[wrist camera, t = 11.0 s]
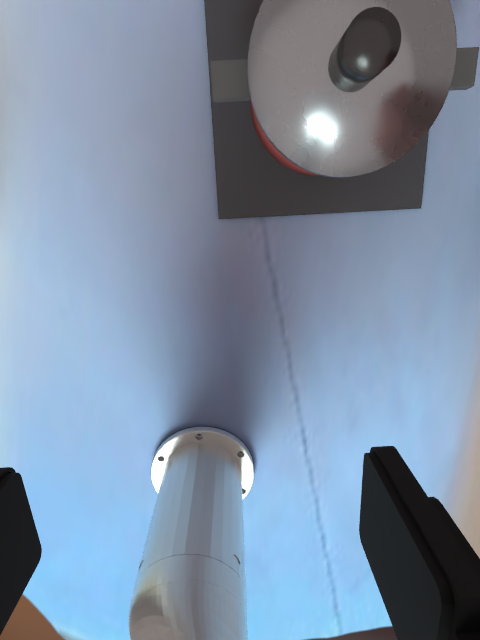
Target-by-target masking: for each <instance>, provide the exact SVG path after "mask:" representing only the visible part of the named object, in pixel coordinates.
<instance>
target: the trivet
mask: <svg viewBox="0 0 480 640" xmlns="http://www.w3.org/2000/svg"><path fill="white" fill-rule="evenodd" d="M204 1H205V17H206V32H207V47H208V62H209V77H210V92H211V107H212V123H213V138H214V153H215V168H216V183H217V198H218V214H219V219H231V218H250V217H269V216H287V215H306V214H325V213H343V212H362V211H381V210H399V209H418V208H421V204H422V194H423V183H424V173H425V163H426V152H427V142H428V132H429V130H428V131H427V133H426V134H425V135H424V136H423V137H422V138H421V139H420V141H419V142H418V143H417V144H416V145H415V146H414V147H413V148H411V149H410V150H409V151H408V152H407V153H406V154H404V155H403V156H402V157H400V158H399V159H397V160H396V161H395V162H393V163H391V164H389V165H387V166H385V167H383V168H381V169H378V170H376V171H373V172H370V173H366V174H362V175H358V176H352V177H327V176H311V175H305V174H301V173H298V172H295V171H292V170H290V169H288V168H286V167H285V166H283V165H282V164H280V163H279V162H278V161H277V160H275V159H274V158H273V157H272V156H271V155H270V153H269V152H268V151H267V150H266V149H265V147H264V146H263V144H262V143H261V141H260V139H259V137H258V135H257V133H256V130H255V127H254V124H253V120H252V115H251V107H250V101H236V102H217V103H214V102H213V93H212V78H211V62H210V61H221V60H241V59H248V52H249V45H250V39H251V34H252V30H253V26H254V23H255V19H256V17H257V14H258V12H259V9H260V6H261V4H262V2H263V0H204Z"/></svg>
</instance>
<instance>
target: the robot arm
mask: <svg viewBox="0 0 480 640" xmlns="http://www.w3.org/2000/svg"><path fill="white" fill-rule="evenodd" d="M151 477H152V483H153V485H154V488H155V490H156V491H157V493H158V495H157V499H156V503H155V507H154V511H153V515H152V519H151V523H150V527H149V531H148V535H147V539H146V543H145V547H144V551H143V555H142V559H141V562H140V566H139V570H138V574H137V578H136V583H135V586H134V590H133V594H132V598H131V602H130V609H129V633H130V639H131V640H248V633H247V613H246V583H245V555H244V527H243V499H244V498H245V497H246V496H247V494H248V493H249V491H250V489H251V487H252V484H253V481H254V464H253V460H252V457H251V454H250V452H249V451H248V449H247V447H246V446H245V445H244V444H243V443H242V441H240V440H239V439H238V438H237V437H235V436H234V435H232V434H230V433H228V432H226V431H224V430H221V429H217V428H212V427H193V428H187V429H184V430H182V431H179V432H177V433H175V434H173V435H171V436H170V437H169V438H167V439H166V440H165V441H164V442H163V443H162V444H161V445H160V447H159V448H158V449H157V452H156V454H155V456H154V459H153V463H152V467H151ZM359 532H360V539H361V543H362V546H363V549H364V551H365V554H366V557H367V559H368V562H369V565H370V567H371V570H372V572H373V575H374V578H375V580H376V583H377V586H378V588H379V591H380V594H381V596H382V599H383V602H384V604H385V607H386V610H387V612H388V615H389V618H390V620H391V623H392V625H393V628H394V631H395V633H396V636H397V639H398V640H480V559H479V557H478V556H477V554H476V553H475V551H474V550H473V548H472V547H471V546H470V544H469V543H468V541H467V540H466V538H465V537H464V535H463V534H462V533H461V531H460V530H459V528H458V527H457V525H456V524H455V522H454V521H453V520H452V518H451V517H450V515H449V514H448V512H447V511H446V509H445V508H444V506H443V505H442V504H441V503H440V501H439V500H438V499H436V498H435V497H428V496H427V495H426V493H425V492H424V490H423V489H422V487H421V486H420V484H419V483H418V481H417V480H416V478H415V477H414V475H413V474H412V472H411V471H410V469H409V468H408V466H407V465H406V463H405V462H404V460H403V459H402V457H401V456H400V454H399V453H398V451H397V449H396V448H395V447H393V446H383V447H372V448H371V450H370V453H365V454H364V462H363V478H362V494H361V510H360V526H359ZM41 550H42V549H41V544H40V541H39V537H38V534H37V530H36V527H35V523H34V520H33V516H32V512H31V509H30V505H29V502H28V498H27V495H26V491H25V488H24V484H23V481H22V477H21V475H20V474H19V473H16V472H15V470H14V469H13V468H10V467H8V468H0V635H1V633H2V631H3V629H4V627H5V625H6V623H7V621H8V620H9V618H10V616H11V614H12V612H13V610H14V608H15V607H16V605H17V603H18V601H19V599H20V597H21V595H22V593H23V592H24V590H25V588H26V586H27V584H28V582H29V580H30V578H31V577H32V575H33V573H34V571H35V569H36V567H37V565H38V563H39V561H40V558H41Z"/></svg>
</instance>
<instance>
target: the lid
mask: <svg viewBox="0 0 480 640" xmlns="http://www.w3.org/2000/svg"><path fill="white" fill-rule="evenodd" d="M456 48H457V43H456V27H455V21H454V15H453V11H452V8H451V4H450V1H449V0H263V2H262V4H261V6H260V9H259V12H258V14H257V17H256V19H255V23H254V26H253V30H252V34H251V39H250V45H249V52H248V69H247V75H248V88H249V93H250V98H251V103H252V106H253V109H254V112H255V116H256V118H257V120H258V122H259V124H260V127H261V129H262V130H263V132H264V134H265V135H266V137H267V138H268V140H269V141H270V142H271V144H272V145H273V146H274V147H275V148H276V150H277V151H278V152H279V153H281V154H282V155H283V156H284V157H285V158H286V159H287V160H289V161H290V162H292V163H293V164H295V165H296V166H298V167H300V168H302V169H304V170H306V171H308V172H311V173H314V174H317V175H322V176H327V177H352V176H358V175H362V174H366V173H370V172H373V171H376V170H378V169H381V168H383V167H385V166H387V165H389V164H391V163H393V162H395V161H396V160H397V159H399V158H400V157H402V156H403V155H404V154H406V153H407V152H408V151H409V150H410V149H411V148H413V147H414V146H415V145H416V144H417V143H418V142H419V141H420V139H421V138H422V137H423V136H424V135H425V134H426V133H427V131H428V130H429V128H430V127H431V125H432V124H433V123H434V121H435V119H436V118H437V116H438V114H439V112H440V110H441V109H442V107H443V104H444V102H445V99H446V97H447V95H448V92H449V88H450V85H451V82H452V78H453V73H454V68H455V62H456Z"/></svg>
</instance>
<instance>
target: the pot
mask: <svg viewBox="0 0 480 640" xmlns="http://www.w3.org/2000/svg"><path fill="white" fill-rule="evenodd" d="M478 51H479V47H472V48H456V62H455V68H454V73H453V78H452V82H451V85H450V88H449V90H466V89H468V88H470V87H472V86H474V82H475V74H476V66H477V58H478ZM210 62H211V78H212V93H213V102H214V103H217V102H236V101H250V107H251V115H252V120H253V124H254V127H255V130H256V133H257V135H258V137H259V139H260V141H261V143H262V144H263V146H264V147H265V149H266V150H267V151H268V152H269V153H270V155H271V156H272V157H273V158H274V159H275V160H277V161H278V162H279V163H280V164H282V165H283V166H285V167H286V168H288V169H290V170H292V171H295V172H298V173H301V174H305V175H311V176H322V175H317V174H314V173H311V172H308V171H306V170H304V169H302V168H300V167H298V166H296V165H295V164H293V163H292V162H290V161H289V160H287V159H286V158H285V157H284V156H283V155H282V154H281V153H279V152H278V151H277V150H276V148H275V147H274V146H273V145H272V144H271V142H270V141H269V140H268V138H267V137H266V135H265V134H264V132H263V130H262V129H261V127H260V124H259V122H258V120H257V118H256V116H255V112H254V109H253V106H252V103H251V98H250V93H249V88H248V75H247V69H248V59H241V60H221V61H210Z"/></svg>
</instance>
